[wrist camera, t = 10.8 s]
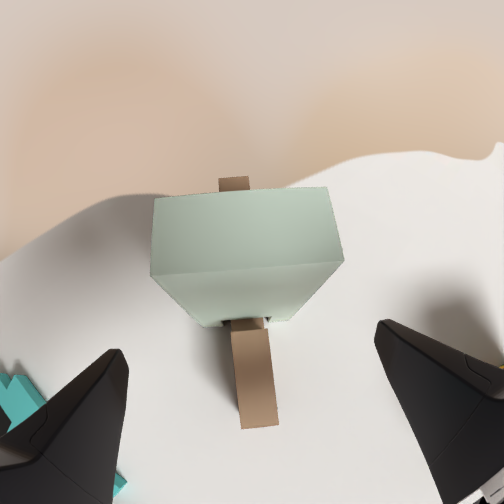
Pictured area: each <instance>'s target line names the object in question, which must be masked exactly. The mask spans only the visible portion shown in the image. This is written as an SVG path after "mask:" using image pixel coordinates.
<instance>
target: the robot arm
mask: <svg viewBox="0 0 504 504" xmlns="http://www.w3.org/2000/svg"><path fill="white" fill-rule="evenodd" d="M374 343H375V347H376V349H377V352H378V354H379V357H380V360H381V362H382V365H383V368H384V370H385V373H386V376H387V378H388V380H389V382H390V384H391V386H392V388H393V390H394V392H395V394H396V396H397V398H398V400H399V402H400V405H401V407H402V409H403V411H404V413H405V415H406V417H407V419H408V421H409V424H410V426H411V428H412V430H413V432H414V434H415V437H416V439H417V441H418V443H419V446H420V448H421V450H422V452H423V455H424V457H425V459H426V462H427V464H428V466H429V469H430V472H431V474H432V477H433V479H434V481H435V484H436V486H437V489H438V492H439V494H440V497H441V499H442V502H443V504H458V503H460V502H461V501H463V500H464V499H466V498H467V497H469V496H470V495H471V494H473V493H474V492H476V491H477V490H478V489H480V490H481V492H482V494H483V497H481V498H480V499H479V500H477V501H476V502H475V503H473V504H504V369H502V368H499V367H496V366H493V365H491V364H488V363H485V362H483V361H480V360H478V359H476V358H473V357H471V356H469V355H467V354H464V353H462V352H460V351H458V350H456V349H454V348H451V347H449V346H447V345H445V344H443V343H441V342H438V341H436V340H434V339H432V338H430V337H428V336H425V335H423V334H421V333H419V332H417V331H415V330H412V329H410V328H408V327H406V326H404V325H402V324H399V323H397V322H395V321H393V320H391V319H385V320H380V321H379V322H378V324H377V328H376V333H375V337H374ZM128 377H129V368H128V364H127V362H126V360H125V357H124V355H123V353H122V351H121V350H120V349H109V350H108V351H106V352H105V353H104V354H103V355H102V356H100V357H99V358H98V359H97V360H96V361H94V362H93V363H92V364H91V365H90V366H88V367H87V368H86V369H85V370H84V371H83V372H81V373H80V374H79V375H78V376H77V377H75V378H74V379H73V380H72V381H71V382H70V383H68V384H67V385H66V386H65V387H64V388H62V389H61V390H60V391H59V392H58V393H57V394H55V395H54V396H53V397H52V398H51V399H50V400H48V401H47V404H46V403H45V404H44V405H43V406H41V407H40V408H39V409H38V410H37V411H35V412H34V413H33V414H32V415H31V416H29V417H28V418H27V419H25V420H24V421H23V422H21V423H20V424H19V425H17V426H16V427H14V428H13V429H11V430H10V431H9V432H7V433H6V434H4V435H3V436H2V437H0V504H112V501H113V490H114V481H115V473H116V465H117V458H118V451H119V445H120V438H121V432H122V427H123V421H124V416H125V410H126V400H127V388H128Z"/></svg>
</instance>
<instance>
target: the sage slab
mask: <svg viewBox="0 0 504 504" xmlns="http://www.w3.org/2000/svg"><path fill="white" fill-rule="evenodd" d="M343 262H344V256H343V251H342V246H341V242H340V238H339V233H338V229H337V225H336V221H335V216H334V212H333V208H332V204H331V201H330V197H329V193H328V189H327V187H301V188H277V189H259V190H242V191H227V192H215V193H203V194H192V195H183V196H172V197H163V198H155V199H154V211H153V224H152V240H151V263H150V276H151V277H152V278H153V279H154V280H155V281H156V282H157V283H158V284H159V285H160V286H161V287H162V288H163V289H164V290H165V291H166V292H167V293H168V294H169V295H170V296H171V297H172V298H173V299H174V300H175V301H176V302H177V303H178V304H179V305H180V306H181V307H182V308H183V309H184V310H185V311H186V312H187V313H188V314H189V315H190V316H191V317H192V318H193V319H195V320H196V321H197V322H198V323H199V324H200V325H201V326H202V327H219V326H223V321H224V320H237V319H249V318H261V317H268V322H278V321H287V320H289V319H290V318H291V317H292V316H293V315H294V314H295V313H296V312H297V311H298V310H299V309H300V308H301V307H302V306H303V305H304V304H305V303H306V302H307V301H308V300H309V299H310V298H311V297H312V295H313V294H314V293H315V292H316V291H317V290H318V289H319V288H320V287H321V286H322V285H323V284H324V283H325V282H326V280H327V279H328V278H329V277H330V276H331V275H332V274H333V273H334V272H335V271H336V269H337V268H338V267H339V266H340V265H341V264H342V263H343Z"/></svg>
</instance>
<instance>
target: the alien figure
mask: <svg viewBox="0 0 504 504" xmlns="http://www.w3.org/2000/svg"><path fill="white" fill-rule="evenodd" d="M45 403H46V401H45V400H44V399H43V398H42V396H41V395H40V394H39V392H38V391H37V390H36V389H35V387H34V386H33V385H32V383H31V382H30V380H29V379H28V378H27V376H25V375H14V377H13V379H12V381H11V379H10V378H9V376H8V375H7V374H4V373H0V437H2V436H3V435H4V434H6V433H7V432H9V431H10V430H11V429H13V428H14V427H16V426H17V425H19V424H20V423H21V422H23V421H24V420H25V419H27V418H28V417H29V416H31V415H32V414H33V413H34V412H35V411H37V410H38V409H39V408H40V407H41V406H43V405H44V404H45ZM46 404H47V403H46ZM126 483H127V481H126V480H124V479H123V478H122V477H121V476H119V475H118V474H117V473H115V481H114V490H113V497H114V496H116V495H117V493H118V492H119V491H120V490H121V489H122V488H123V487H124V485H125V484H126Z"/></svg>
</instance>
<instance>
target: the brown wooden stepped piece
mask: <svg viewBox="0 0 504 504" xmlns="http://www.w3.org/2000/svg"><path fill="white" fill-rule="evenodd" d="M242 190H250V186H249V178H248V176H243V177H230V178H219V192H227V191H242ZM231 330H232V332H231V342H232V352H233V362H234V371H235V380H236V389H237V398H238V406H239V415H240V423H241V429H249V428H259V427H267V426H275V425H279V421H278V412H277V404H276V395H275V387H274V378H273V370H272V361H271V353H270V345H269V337H268V328H267V329H264V323H263V317H261V318H249V319H237V320H231Z"/></svg>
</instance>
